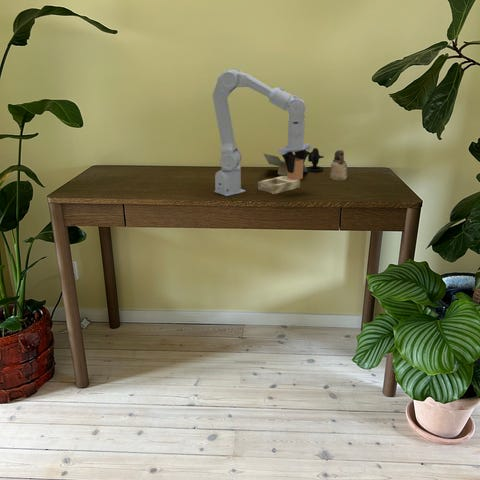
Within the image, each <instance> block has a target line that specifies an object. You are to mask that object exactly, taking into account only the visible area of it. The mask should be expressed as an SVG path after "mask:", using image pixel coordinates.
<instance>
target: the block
mask: <svg viewBox="0 0 480 480" xmlns="http://www.w3.org/2000/svg"><path fill="white" fill-rule="evenodd" d="M303 161H304V160H303V159H299V158H295V162H294V170H293V173H289V172H288V171H287V178H288V179H292V180H303V177H304V172H303Z"/></svg>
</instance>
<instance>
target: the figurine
mask: <svg viewBox="0 0 480 480" xmlns="http://www.w3.org/2000/svg"><path fill="white" fill-rule="evenodd" d="M344 156H345V151H344V150H342V149H338V150H336V151H335V152H334V157H333V160H332V163H330V164H331V165H330V171H329V172H330V173H329V179H330V180H333V181H339V182H341V181H346V180H347V179H348V165H347V161H346V160H345V157H344Z"/></svg>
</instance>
